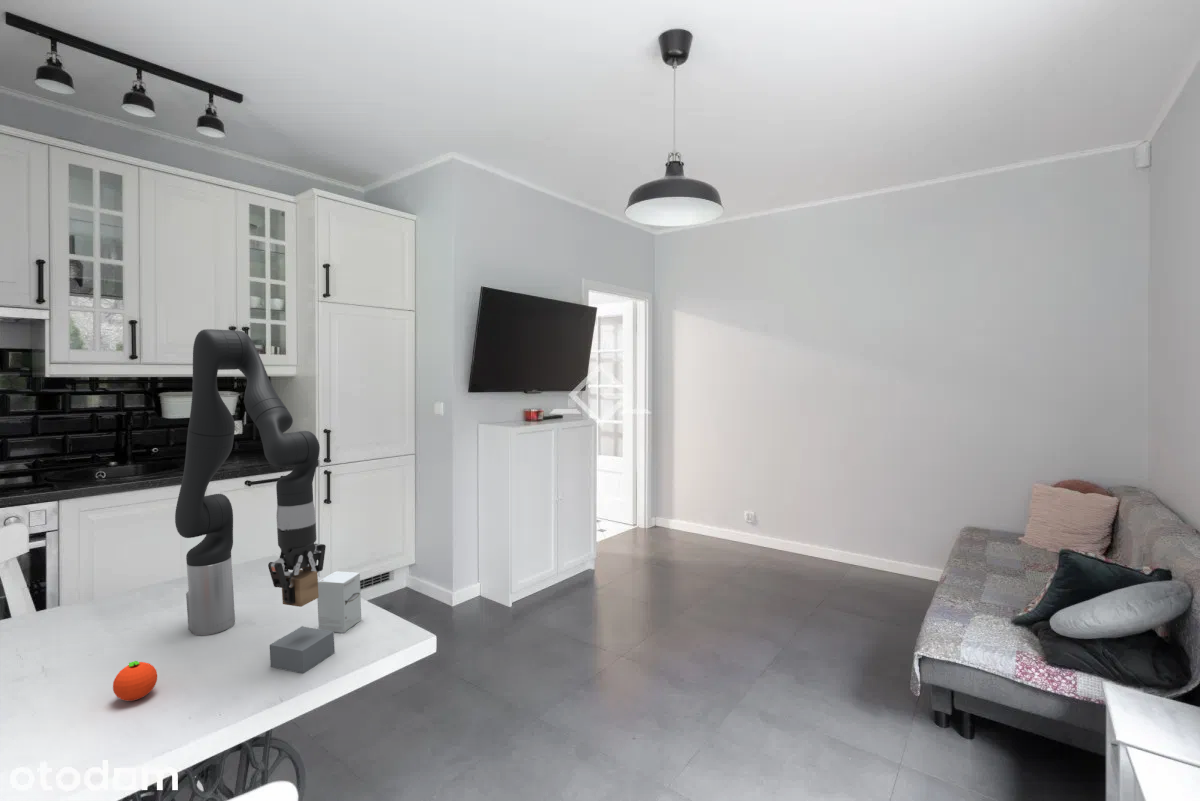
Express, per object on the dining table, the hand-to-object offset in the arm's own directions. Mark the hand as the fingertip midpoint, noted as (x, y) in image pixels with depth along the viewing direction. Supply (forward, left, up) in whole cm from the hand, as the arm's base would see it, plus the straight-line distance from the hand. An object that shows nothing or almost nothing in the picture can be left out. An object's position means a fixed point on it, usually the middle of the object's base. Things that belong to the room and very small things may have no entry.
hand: (300, 597), depth 128 cm
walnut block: (0, 0, -1) cm, 1 cm away
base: (0, 0, -14) cm, 14 cm away
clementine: (-21, -21, -14) cm, 33 cm away
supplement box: (-4, +16, -14) cm, 22 cm away
